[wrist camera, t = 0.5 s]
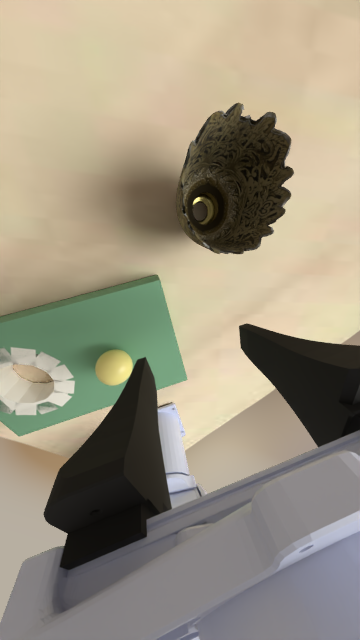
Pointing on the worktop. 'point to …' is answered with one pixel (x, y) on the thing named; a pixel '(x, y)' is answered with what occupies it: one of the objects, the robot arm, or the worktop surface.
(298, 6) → the worktop surface
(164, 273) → the worktop surface
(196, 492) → the robot arm
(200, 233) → the cup
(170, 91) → the worktop surface
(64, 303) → the green rectangular slab
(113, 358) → the ball
